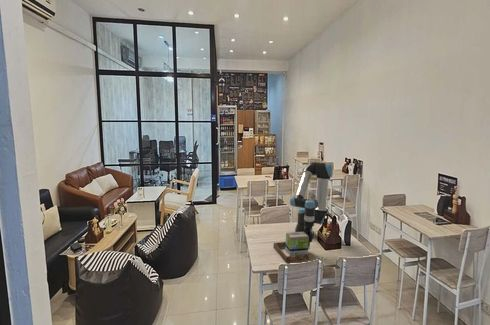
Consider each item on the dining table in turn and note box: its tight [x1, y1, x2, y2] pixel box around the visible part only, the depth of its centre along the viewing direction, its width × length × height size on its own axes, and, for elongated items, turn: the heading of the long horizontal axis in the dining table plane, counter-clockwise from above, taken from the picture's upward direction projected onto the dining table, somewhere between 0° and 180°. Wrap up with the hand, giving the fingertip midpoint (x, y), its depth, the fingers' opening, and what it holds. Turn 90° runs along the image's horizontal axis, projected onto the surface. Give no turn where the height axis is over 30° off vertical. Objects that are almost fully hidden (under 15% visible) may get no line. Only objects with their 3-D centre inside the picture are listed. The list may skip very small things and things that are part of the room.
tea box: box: [284, 231, 309, 256], centre depth 222 cm, size 15×10×15 cm
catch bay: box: [273, 241, 310, 263], centre depth 221 cm, size 19×24×4 cm
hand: (307, 249), depth 224 cm, fingers closed
